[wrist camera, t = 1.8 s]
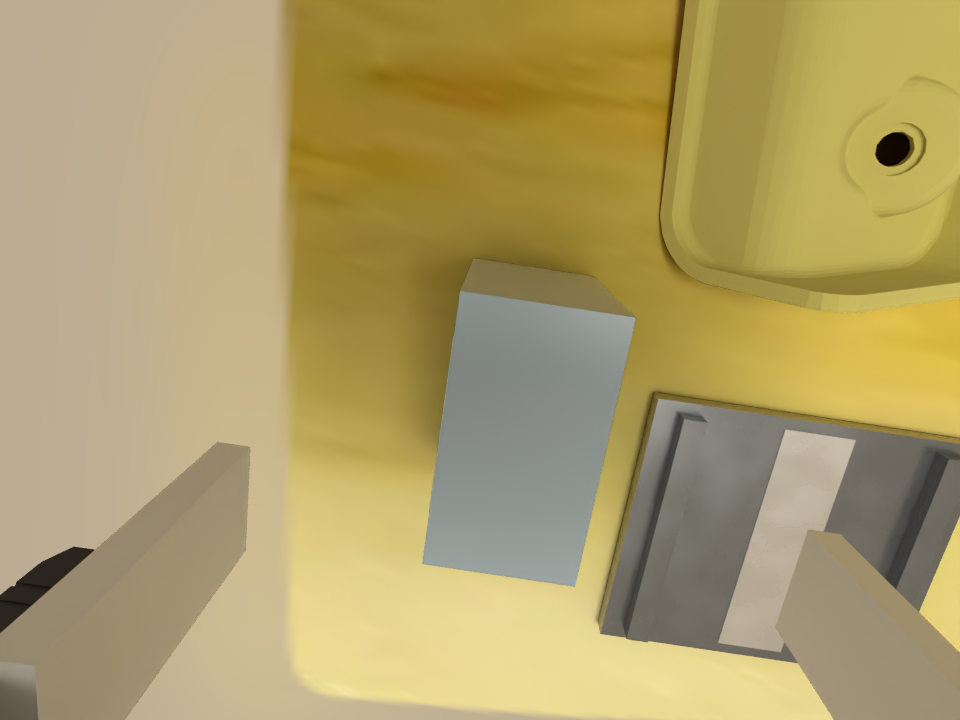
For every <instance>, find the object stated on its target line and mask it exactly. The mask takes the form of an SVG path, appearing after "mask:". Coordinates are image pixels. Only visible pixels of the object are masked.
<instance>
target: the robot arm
mask: <svg viewBox="0 0 960 720" xmlns="http://www.w3.org/2000/svg"><path fill="white" fill-rule="evenodd" d="M249 464H250V447H247V446H240V445H233V444H226V443H220V442H217V443H216V444H215V445H214V446H212V447H211V448H210V449H209V450H208V451H207V452H206V453H205V454H203V455H202V456H201V457H200V458H199V459H198V460H197V461H196V462H195V463H193V464H192V465H191V466H190V467H189V468H187V469H186V470H185V471H184V472H183V473H182V474H181V475H180V476H178V477H177V478H176V479H175V480H174V481H173V482H172V483H170V484H169V485H168V486H167V487H166V488H165V489H164V490H162V491H161V492H160V493H159V494H158V495H157V496H156V497H155V498H153V499H152V500H151V501H150V502H149V503H148V504H147V505H145V506H144V507H143V508H142V509H141V510H140V511H139V512H138V513H137V514H135V515H134V516H133V517H132V518H131V519H130V520H128V521H127V522H126V523H125V524H124V525H123V526H122V527H121V528H119V529H118V530H117V531H116V532H115V533H114V534H113V535H112V536H110V537H109V538H108V539H107V540H106V541H105V542H103V543H102V544H101V545H100V546H99V547H98V548H97V549H95V550H93V549H87V548H79V547H72V548H70V549H68V550H66V551H64V552H62V553H59V554H57V555H55V556H53V557H51V558H49V559H47V560H45V561H43V562H41V563H40V564H38V565H37V566H36V567H35V568H33V569H32V570H31V571H30V572H28V573H27V574H26V575H25V576H24V577H22V578H21V579H20V580H18V581H17V582H16V585H15V586H11V587H10V588H8V589H7V590H6V591H5V592H4V593H2V594H1V595H0V720H125V719H126V718H127V716H128V715H129V713H130V712H131V710H132V709H133V708H134V706H135V705H136V703H137V702H138V701H139V699H140V698H141V697H142V695H143V694H144V692H145V691H146V689H147V688H148V687H149V685H150V684H151V682H152V681H153V680H154V678H155V677H156V675H157V674H158V673H159V671H160V670H161V668H162V667H163V665H164V664H165V663H166V661H167V660H168V659H169V657H170V656H171V654H172V653H173V651H174V650H175V649H176V647H177V646H178V645H179V643H180V642H181V640H182V639H183V637H184V636H185V635H186V633H187V632H188V630H189V629H190V628H191V626H192V625H193V623H194V622H195V621H196V619H197V618H198V616H199V615H200V613H201V612H202V611H203V609H204V608H205V607H206V605H207V604H208V602H209V601H210V600H211V598H212V597H213V595H214V594H215V592H216V591H217V589H218V588H219V587H220V586H221V584H222V583H223V581H224V580H225V578H226V577H227V576H228V574H229V573H230V571H231V570H232V569H233V567H234V566H235V564H236V563H237V562H238V560H239V559H240V557H241V556H242V555H243V553H244V552H245V550H246V530H247V508H248V486H249ZM775 628H776V630H777V631H778V633H779V634H780V636H781V637H782V639H783V640H784V642H785V644H786V645H787V647H788V648H789V650H790V651H791V653H792V655H793V656H794V658H795V659H796V661H797V662H798V664H799V666H800V667H801V669H802V670H803V672H804V673H805V675H806V676H807V678H808V680H809V681H810V683H811V684H812V686H813V687H814V689H815V691H816V692H817V694H818V695H819V697H820V698H821V700H822V701H823V703H824V705H825V706H826V708H827V709H828V711H829V712H830V714H831V716H832V717H833V719H834V720H960V653H959V652H958V651H957V650H956V649H955V648H954V647H953V646H952V645H951V644H950V643H949V642H948V641H947V640H946V639H945V638H944V637H943V636H942V635H941V634H940V633H939V632H938V631H937V630H936V629H935V628H934V627H933V626H932V625H931V624H930V623H929V622H928V621H927V620H926V619H925V618H924V617H923V616H922V615H921V614H920V613H919V612H918V611H917V610H916V609H915V608H914V607H913V606H912V605H911V604H910V603H909V602H908V601H907V600H906V599H905V598H904V597H903V596H902V595H901V594H900V593H899V592H898V591H897V590H896V589H895V588H894V587H893V586H892V585H891V584H890V583H889V582H888V581H887V580H886V579H885V578H884V577H883V576H882V575H881V574H880V573H879V572H878V571H877V570H876V569H875V568H874V567H873V566H872V565H871V564H870V563H869V562H868V561H867V560H866V559H865V558H864V557H863V556H862V555H861V554H860V553H859V552H858V551H857V550H856V549H855V548H854V547H853V546H852V545H851V544H850V543H849V542H848V541H847V540H846V539H845V538H844V537H843V536H842V535H841V534H836V533H829V532H823V531H816V530H809V529H808V531H807V534H806V537H805V540H804V543H803V546H802V549H801V552H800V555H799V558H798V561H797V564H796V567H795V570H794V573H793V576H792V579H791V582H790V585H789V588H788V591H787V594H786V597H785V600H784V603H783V606H782V609H781V612H780V614H779V617H778V620H777V623H776V626H775Z"/></svg>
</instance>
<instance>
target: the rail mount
mask: <svg viewBox="0 0 960 720" xmlns="http://www.w3.org/2000/svg"><path fill="white" fill-rule="evenodd" d="M959 516H960V438H954V437H948V436H941V435H935V434H928V433H921V432H915V431H908V430H901V429H895V428H888V427H882V426H875V425H868V424H862V423H855V422H848V421H842V420H835V419H829V418H822V417H815V416H809V415H802V414H796V413H789V412H782V411H776V410H769V409H762V408H756V407H749V406H743V405H736V404H729V403H723V402H716V401H709V400H703V399H696V398H690V397H683V396H676V395H670V394H663V393H656V392H654V394H653V398H652V402H651V406H650V410H649V414H648V419H647V423H646V427H645V431H644V435H643V439H642V443H641V447H640V451H639V455H638V460H637V464H636V468H635V472H634V476H633V480H632V484H631V488H630V492H629V496H628V501H627V505H626V509H625V513H624V517H623V521H622V525H621V529H620V533H619V537H618V542H617V546H616V550H615V554H614V558H613V562H612V566H611V570H610V574H609V578H608V583H607V587H606V591H605V595H604V599H603V603H602V607H601V611H600V615H599V619H598V625H599V629H600V634H605V635H612V636H619V637H626V639H630V640H636V641H643V642H648V641H653V642H659V643H666V644H673V645H680V646H686V647H693V648H700V649H707V650H713V651H720V652H727V653H733V654H740V655H747V656H754V657H760V658H767V659H774V660H781V661H787V662H794V663H798V662H797V661H796V659H795V658H794V656H793V655H792V653H791V651H790V650H789V648H788V647H787V645H786V644H785V642H784V640H783V639H782V637H781V636H780V634H779V633H778V631H777V630H776V628H775V626H776V623H777V620H778V617H779V614H780V612H781V609H782V606H783V603H784V600H785V597H786V594H787V591H788V588H789V585H790V582H791V579H792V576H793V573H794V570H795V567H796V564H797V561H798V558H799V555H800V552H801V549H802V546H803V543H804V540H805V537H806V534H807V531H808V529H809V530H816V531H823V532H829V533H836V534H841V535H842V536H843V537H844V538H845V539H846V540H847V541H848V542H849V543H850V544H851V545H852V546H853V547H854V548H855V549H856V550H857V551H858V552H859V553H860V554H861V555H862V556H863V557H864V558H865V559H866V560H867V561H868V562H869V563H870V564H871V565H872V566H873V567H874V568H875V569H876V570H877V571H878V572H879V573H880V574H881V575H882V576H883V577H884V578H885V579H886V580H887V581H888V582H889V583H890V584H891V585H892V586H893V587H894V588H895V589H896V590H897V591H898V592H899V593H900V594H901V595H902V596H903V597H904V598H905V599H906V600H907V601H908V602H909V603H910V604H911V605H912V606H913V607H914V608H915V609H916V610H917V611H918V612H919V610H920V608H921V606H922V603H923V601H924V598H925V596H926V594H927V591H928V589H929V587H930V584H931V582H932V580H933V577H934V575H935V573H936V570H937V568H938V566H939V563H940V561H941V559H942V556H943V554H944V552H945V549H946V547H947V545H948V542H949V540H950V538H951V535H952V533H953V530H954V528H955V526H956V523H957V521H958V519H959Z"/></svg>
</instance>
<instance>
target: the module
mask: <svg viewBox="0 0 960 720" xmlns="http://www.w3.org/2000/svg"><path fill="white" fill-rule="evenodd" d="M635 320H636V317H635V316H634V315H633V314H632V313H631V312H630V311H629V310H628V309H627V308H626V307H625V306H624V305H623V304H622V303H621V302H620V301H619V300H618V299H617V298H616V297H615V296H614V295H613V294H612V293H611V292H610V291H609V290H608V289H606V288H605V287H604V286H603V285H602V284H601V283H600V282H599V281H598V280H597V279H596V278H595V277H594V276H588V275H582V274H575V273H568V272H562V271H555V270H549V269H542V268H536V267H529V266H523V265H516V264H509V263H503V262H496V261H490V260H483V259H477V258H473V261H472V263H471V265H470V268H469V270H468V273H467V275H466V278H465V280H464V283H463V285H462V288H461V290H460V295H459V303H458V310H457V317H456V324H455V331H454V335H453V341H452V349H451V356H450V363H449V370H448V378H447V385H446V392H445V399H444V407H443V414H442V421H441V428H440V436H439V443H438V450H437V457H436V465H435V472H434V479H433V486H432V493H431V501H430V508H429V519H428V527H427V534H426V541H425V548H424V555H423V563H422V564H426V565H433V566H439V567H446V568H453V569H459V570H466V571H473V572H480V573H486V574H493V575H500V576H506V577H513V578H520V579H526V580H533V581H540V582H546V583H553V584H560V585H567V586H573V587H575V585H576V580H577V576H578V572H579V567H580V563H581V558H582V554H583V549H584V545H585V541H586V536H587V532H588V527H589V523H590V519H591V514H592V510H593V505H594V501H595V497H596V492H597V488H598V483H599V479H600V474H601V470H602V466H603V461H604V457H605V452H606V448H607V444H608V439H609V435H610V430H611V426H612V422H613V417H614V413H615V408H616V404H617V400H618V395H619V391H620V386H621V382H622V377H623V373H624V369H625V364H626V360H627V355H628V351H629V347H630V342H631V338H632V333H633V329H634V325H635Z"/></svg>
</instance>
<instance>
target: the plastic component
mask: <svg viewBox="0 0 960 720" xmlns="http://www.w3.org/2000/svg"><path fill="white" fill-rule="evenodd" d="M892 132H900V133H902V134H904V135H906V137H907V138H908V139H909V141H910V150H909V152H908V155H907V157H906V158H904V159H903V160H902V161H901V162H900V163H899V164H896V165H892V166H884V165H882V164H880V163H879V162H878V160H877V158H876V156H875V152H876V146H877V144H878V143H879V142H880V140H881V139H882V138H883V137H884V136H886V135H888V134H890V133H892ZM660 220H661V228H662V235H663V238H664V240H665V243H666V246H667V249H668V251H669V253H670V254H671V256H672V257H673V259H674V261H675V262H676V264H677V265H678V266H679V267H680V268H681V269H682V270H683V271H684V272H685V273H686V274H687V275H689V276H691V277H693V278H694V279H696V280H698V281H700V282H702V283H706V284H710V285H714V286H718V287H722V288H726V289H730V290H734V291H739V292H743V293H747V294H751V295H755V296H759V297H763V298H767V299H771V300H775V301H779V302H783V303H787V304H791V305H796V306H800V307H804V308H808V309H814V310H819V311H827V312H836V313H861V312H868V311H874V310H881V309H888V308H895V307H902V306H909V305H916V304H923V303H930V302H937V301H944V300H950V299H957V298H960V0H686V4H685V12H684V20H683V28H682V37H681V45H680V53H679V62H678V70H677V78H676V87H675V95H674V103H673V112H672V120H671V128H670V137H669V145H668V153H667V161H666V170H665V178H664V186H663V195H662V203H661V211H660Z"/></svg>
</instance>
